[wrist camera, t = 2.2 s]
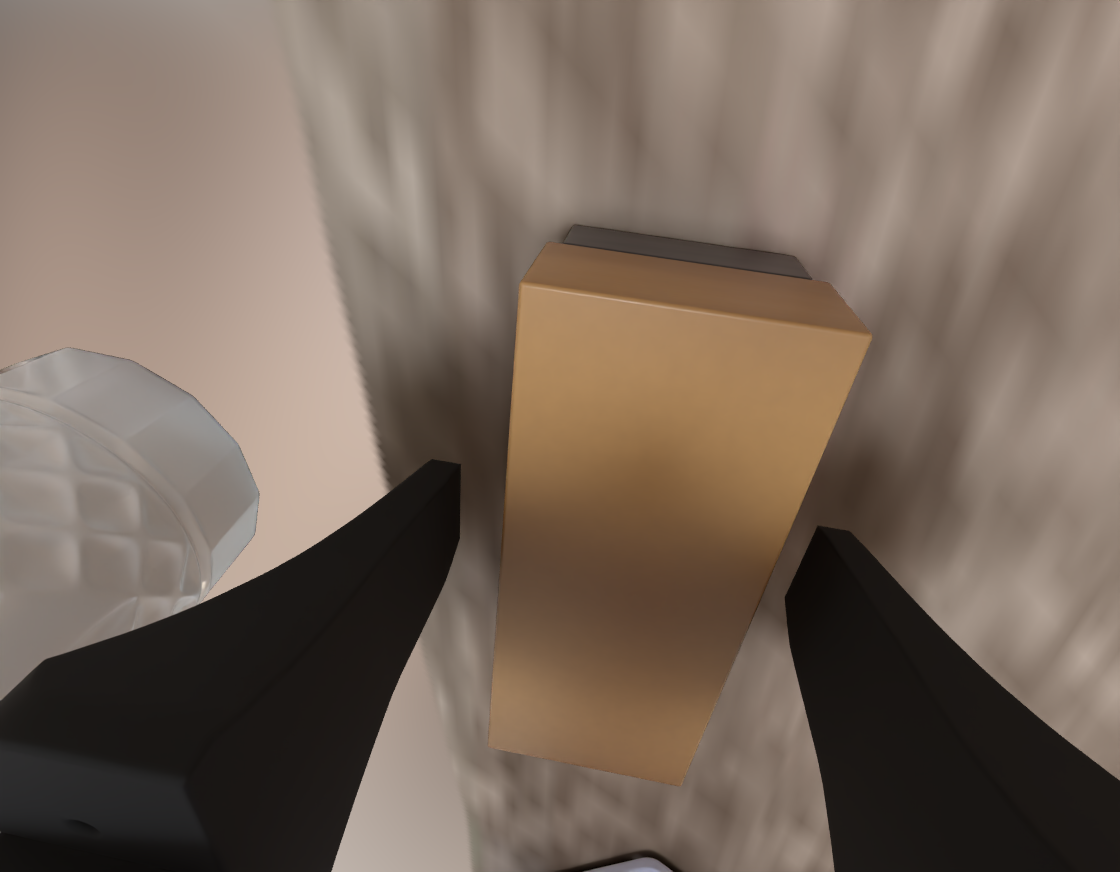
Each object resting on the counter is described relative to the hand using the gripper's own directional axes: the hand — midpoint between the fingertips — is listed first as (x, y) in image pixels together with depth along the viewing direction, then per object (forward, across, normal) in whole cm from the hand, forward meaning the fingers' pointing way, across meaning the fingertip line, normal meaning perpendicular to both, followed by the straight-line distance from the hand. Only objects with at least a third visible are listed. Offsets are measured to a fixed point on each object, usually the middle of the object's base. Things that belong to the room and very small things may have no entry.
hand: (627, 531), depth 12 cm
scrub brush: (+2, 0, 0) cm, 2 cm away
